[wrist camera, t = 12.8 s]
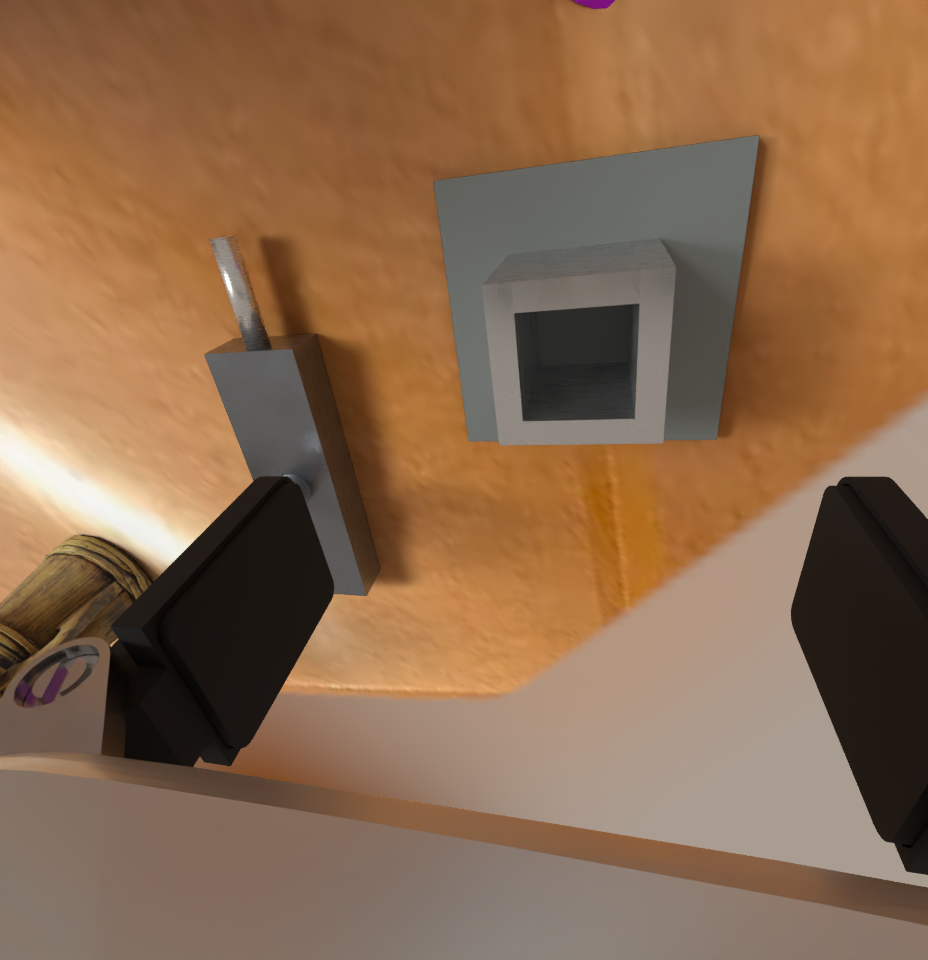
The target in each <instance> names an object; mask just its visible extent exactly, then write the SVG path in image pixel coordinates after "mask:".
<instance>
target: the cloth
mask: <svg viewBox="0 0 928 960" xmlns="http://www.w3.org/2000/svg"><path fill="white" fill-rule="evenodd" d="M574 1H575V2H577V3H579V4H582V5H585V6H587V7H590V8H593V9H601V8H608V7H609V6H610V5H611V4H612V3H613V2H614V1H615V0H574Z"/></svg>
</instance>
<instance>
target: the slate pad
mask: <svg viewBox="0 0 928 960" xmlns="http://www.w3.org/2000/svg"><path fill="white" fill-rule="evenodd" d="M759 136H760V135H757V136H749V137H742V138H735V139H728V140H721V141H714V142H707V143H700V144H692V145H685V146H678V147H671V148H664V149H657V150H650V151H643V152H636V153H629V154H622V155H615V156H608V157H600V158H593V159H586V160H579V161H572V162H565V163H558V164H551V165H544V166H537V167H530V168H523V169H515V170H508V171H501V172H494V173H487V174H480V175H473V176H466V177H459V178H452V179H445V180H438V181H434V188H435V195H436V202H437V210H438V217H439V225H440V232H441V240H442V247H443V254H444V262H445V269H446V277H447V284H448V292H449V299H450V306H451V314H452V321H453V329H454V336H455V343H456V351H457V358H458V366H459V373H460V381H461V388H462V395H463V403H464V410H465V418H466V425H467V433H468V440H469V441H499V439H498V430H497V421H496V412H495V403H494V394H493V385H492V376H491V367H490V357H489V348H488V339H487V330H486V321H485V312H484V303H483V294H482V284H483V283H484V282H485V280H486V279H487V278H488V277H489V276H490V275H491V274H492V273H493V271H494V270H495V269H496V268H497V267H498V266H499V265H500V264H501V263H502V261H503V260H504V259H505V258H506V257H507V256H508V255H509V254H514V253H523V252H532V251H542V250H551V249H560V248H569V247H579V246H588V245H597V244H606V243H616V242H625V241H634V240H643V239H653V238H660V240H661V242H662V244H663V245H664V247H665V249H666V250H667V252H668V254H669V255H670V257H671V259H672V261H673V262H674V264H675V266H676V275H675V288H674V302H673V316H672V330H671V343H670V357H669V371H668V384H667V398H666V412H665V425H664V439H663V440H717V433H718V426H719V419H720V412H721V405H722V398H723V391H724V384H725V377H726V370H727V362H728V355H729V348H730V341H731V334H732V327H733V320H734V313H735V306H736V299H737V292H738V285H739V278H740V270H741V263H742V256H743V249H744V242H745V235H746V228H747V221H748V214H749V207H750V200H751V193H752V185H753V178H754V171H755V164H756V157H757V150H758V143H759ZM630 305H631V304H626V305H613V306H601V307H588V308H575V309H562V310H549V311H536V316H537V333H538V350H539V366H547V365H567V364H586V363H606V362H626V361H629V337H630Z"/></svg>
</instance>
